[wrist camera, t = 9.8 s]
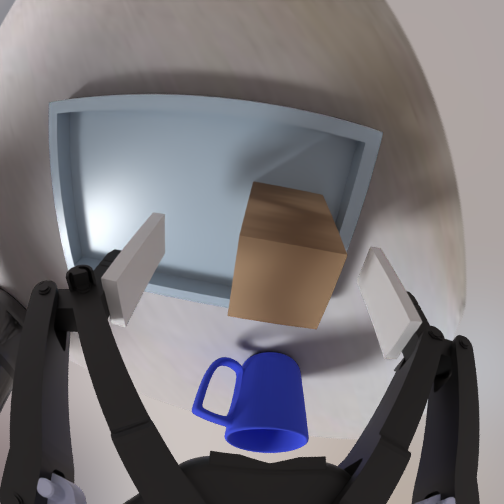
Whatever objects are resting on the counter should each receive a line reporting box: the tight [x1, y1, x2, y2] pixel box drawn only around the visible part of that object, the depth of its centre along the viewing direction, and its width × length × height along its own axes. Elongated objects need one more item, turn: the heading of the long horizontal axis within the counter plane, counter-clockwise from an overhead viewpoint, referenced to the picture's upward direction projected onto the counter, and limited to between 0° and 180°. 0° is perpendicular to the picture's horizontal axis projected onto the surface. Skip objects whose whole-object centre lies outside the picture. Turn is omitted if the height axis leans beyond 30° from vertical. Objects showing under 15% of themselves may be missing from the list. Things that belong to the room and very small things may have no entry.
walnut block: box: [228, 181, 347, 329], centre depth 17 cm, size 5×5×8 cm
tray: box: [49, 94, 383, 308], centre depth 20 cm, size 24×16×2 cm, turn 82°
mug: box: [192, 352, 309, 453], centre depth 26 cm, size 8×12×10 cm
